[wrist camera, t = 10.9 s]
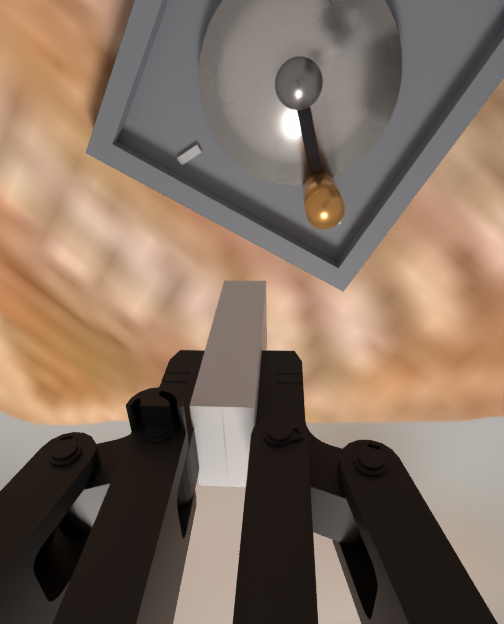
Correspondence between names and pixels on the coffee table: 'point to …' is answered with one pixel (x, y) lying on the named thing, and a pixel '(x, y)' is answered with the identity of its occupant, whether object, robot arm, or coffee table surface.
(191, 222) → the coffee table surface
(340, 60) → the dial
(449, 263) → the coffee table surface
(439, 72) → the panel
